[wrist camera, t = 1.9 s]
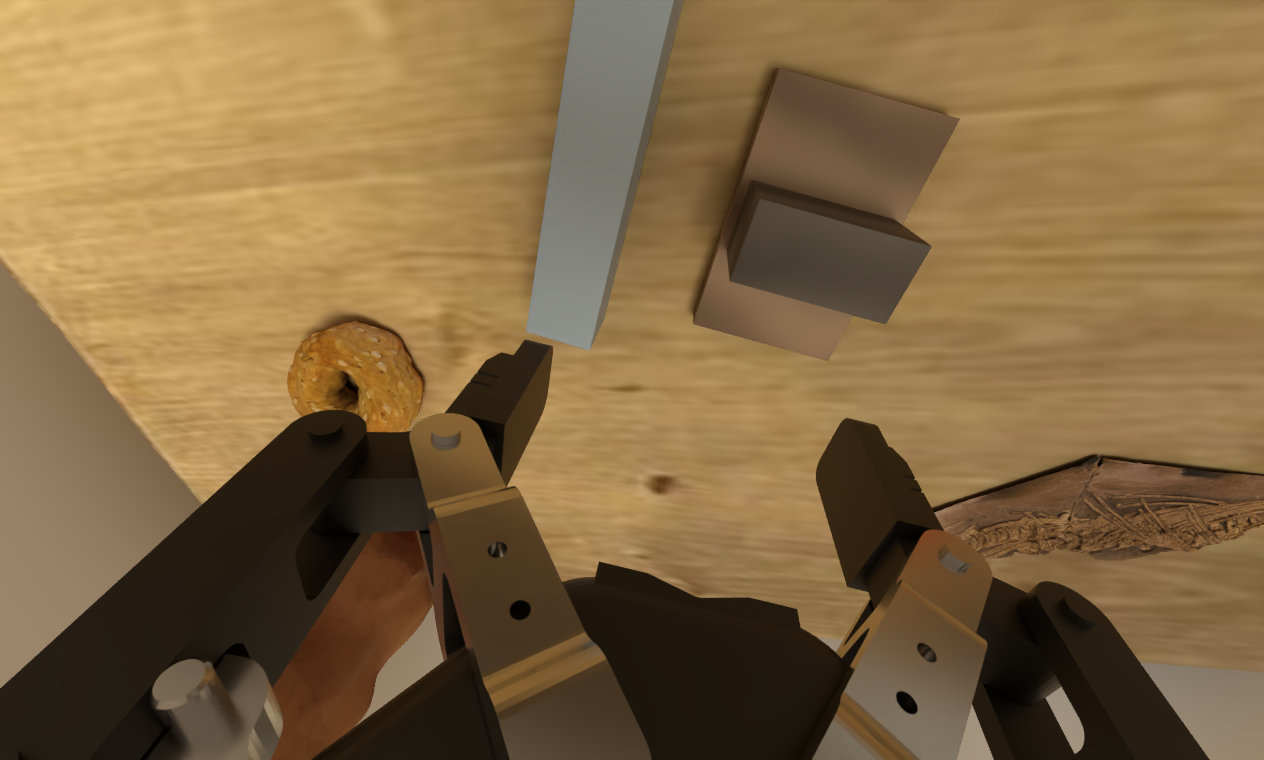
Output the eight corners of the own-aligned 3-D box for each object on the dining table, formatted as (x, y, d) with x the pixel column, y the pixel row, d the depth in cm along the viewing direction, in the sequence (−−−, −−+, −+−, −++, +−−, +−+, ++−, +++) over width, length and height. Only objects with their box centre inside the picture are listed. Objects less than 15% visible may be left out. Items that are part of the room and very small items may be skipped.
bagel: (450, 361, 37) (419, 395, 33) (405, 444, 42) (373, 482, 38) (328, 286, 34) (279, 313, 30) (298, 385, 40) (252, 418, 36)
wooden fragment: (915, 557, 41) (919, 567, 40) (930, 459, 35) (936, 469, 34) (1293, 551, 35) (1308, 563, 34) (1380, 435, 30) (1401, 446, 29)
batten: (627, -148, 21) (606, -207, 17) (714, -120, 21) (715, -172, 17) (549, 299, 33) (526, 331, 28) (605, 316, 33) (589, 350, 29)
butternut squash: (335, 539, 51) (74, 859, 30) (328, 452, 44) (-23, 793, 23) (459, 578, 52) (289, 918, 31) (473, 498, 44) (261, 871, 23)
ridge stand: (775, 68, 24) (795, 64, 18) (946, 117, 24) (1017, 126, 18) (693, 314, 31) (690, 362, 26) (823, 349, 32) (847, 405, 26)
